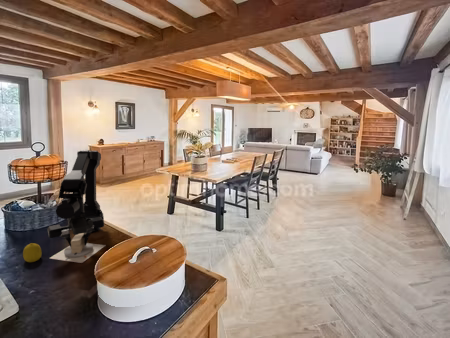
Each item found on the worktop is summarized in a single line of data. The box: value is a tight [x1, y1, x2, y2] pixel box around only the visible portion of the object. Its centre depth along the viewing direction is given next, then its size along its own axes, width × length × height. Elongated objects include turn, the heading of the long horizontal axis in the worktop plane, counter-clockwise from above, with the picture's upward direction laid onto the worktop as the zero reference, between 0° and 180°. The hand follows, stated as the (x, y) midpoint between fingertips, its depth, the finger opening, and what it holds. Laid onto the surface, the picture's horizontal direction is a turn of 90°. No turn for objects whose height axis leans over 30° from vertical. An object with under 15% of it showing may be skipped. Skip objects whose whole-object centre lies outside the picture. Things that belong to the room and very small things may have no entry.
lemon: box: [22, 242, 43, 263], centre depth 96 cm, size 6×6×8 cm
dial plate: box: [49, 242, 106, 264], centre depth 103 cm, size 14×14×2 cm
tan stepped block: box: [63, 233, 93, 257], centre depth 102 cm, size 10×10×6 cm
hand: (78, 246), depth 102 cm, fingers closed on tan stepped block, 4 cm apart
